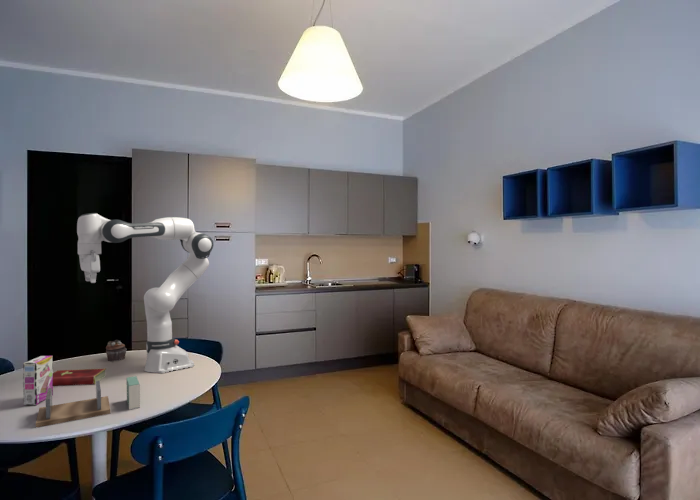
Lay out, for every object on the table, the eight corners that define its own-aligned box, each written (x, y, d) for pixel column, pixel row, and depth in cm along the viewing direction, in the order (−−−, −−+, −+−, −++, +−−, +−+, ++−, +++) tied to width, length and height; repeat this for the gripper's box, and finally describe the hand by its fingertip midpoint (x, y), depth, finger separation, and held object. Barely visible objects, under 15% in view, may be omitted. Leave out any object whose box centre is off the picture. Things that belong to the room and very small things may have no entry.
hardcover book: (94, 385, 191) (94, 375, 191) (42, 387, 189) (42, 378, 189) (106, 376, 203) (106, 367, 203) (57, 378, 201) (57, 369, 200)
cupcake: (114, 362, 225) (114, 343, 225) (101, 360, 229) (101, 341, 229) (130, 357, 234) (130, 339, 234) (118, 355, 238) (118, 337, 238)
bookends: (99, 398, 170) (99, 380, 170) (101, 409, 159) (100, 390, 158) (48, 407, 161) (47, 388, 161) (46, 419, 150) (45, 399, 150)
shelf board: (108, 399, 173) (107, 396, 172) (110, 413, 159) (110, 409, 159) (39, 411, 161) (39, 407, 161) (35, 427, 147) (35, 423, 147)
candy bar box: (37, 405, 167) (35, 362, 167) (23, 406, 167) (21, 363, 166) (54, 395, 178) (53, 355, 178) (41, 395, 178) (40, 355, 177)
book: (136, 398, 174) (136, 376, 174) (140, 407, 164) (139, 383, 164) (126, 400, 172) (126, 377, 172) (129, 409, 162) (128, 385, 162)
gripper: (103, 250, 186) (104, 283, 187) (92, 249, 201) (93, 279, 202) (86, 250, 182) (87, 284, 182) (76, 250, 197) (77, 280, 198)
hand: (90, 281), depth 192 cm, fingers open, 8 cm apart
